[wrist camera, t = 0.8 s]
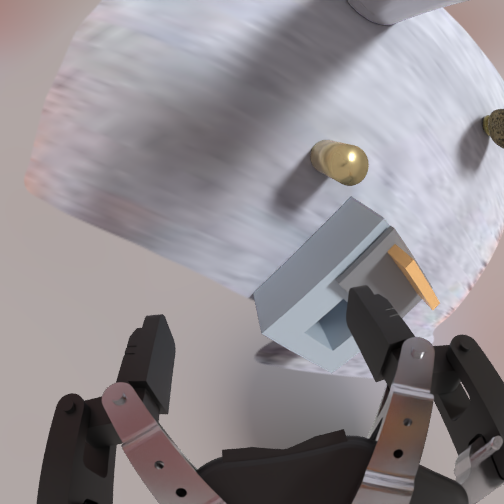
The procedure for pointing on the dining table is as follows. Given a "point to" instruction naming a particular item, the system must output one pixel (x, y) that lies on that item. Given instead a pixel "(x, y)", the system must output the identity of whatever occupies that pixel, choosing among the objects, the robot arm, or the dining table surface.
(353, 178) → the brass cylinder
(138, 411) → the robot arm
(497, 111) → the cup
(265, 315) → the housing
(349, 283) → the lid
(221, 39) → the dining table surface
